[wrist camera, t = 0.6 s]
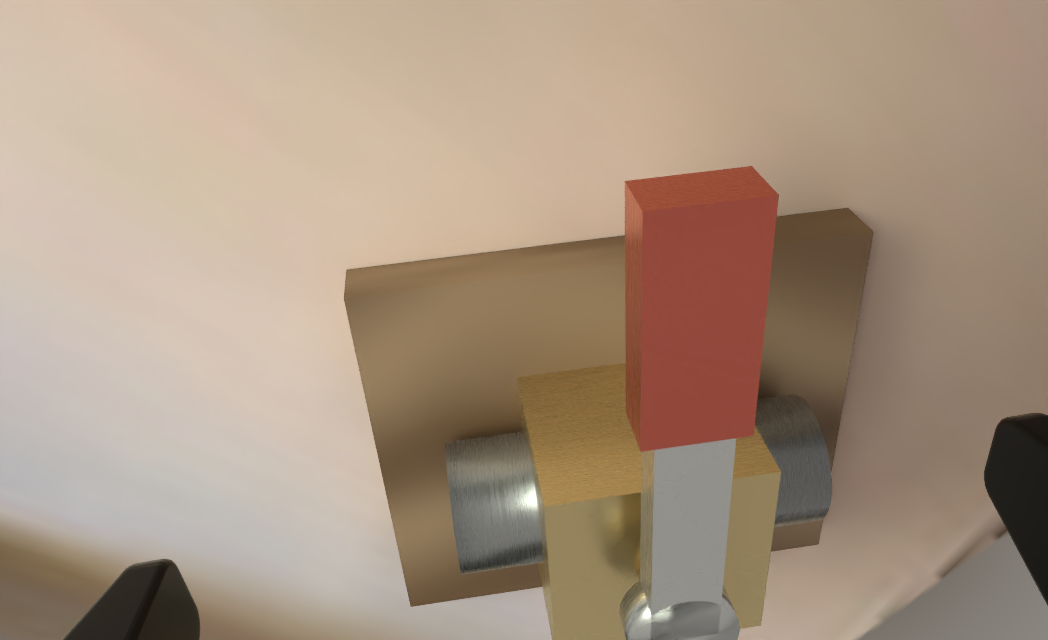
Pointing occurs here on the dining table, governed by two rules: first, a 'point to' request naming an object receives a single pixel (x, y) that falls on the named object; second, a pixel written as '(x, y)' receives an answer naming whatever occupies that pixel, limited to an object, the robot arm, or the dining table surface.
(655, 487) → the valve lever
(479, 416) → the valve board
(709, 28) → the dining table surface
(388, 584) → the dining table surface
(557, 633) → the ball valve
